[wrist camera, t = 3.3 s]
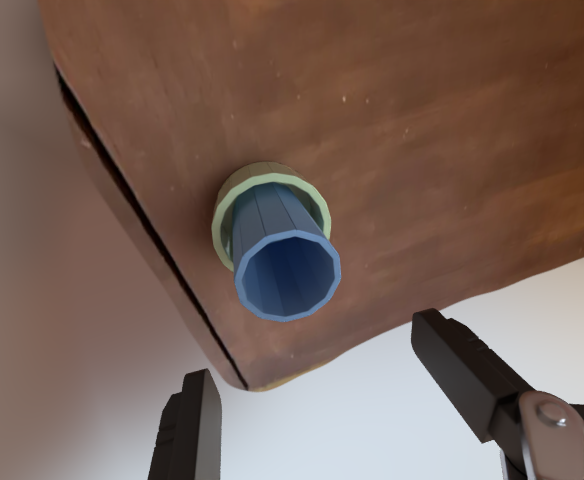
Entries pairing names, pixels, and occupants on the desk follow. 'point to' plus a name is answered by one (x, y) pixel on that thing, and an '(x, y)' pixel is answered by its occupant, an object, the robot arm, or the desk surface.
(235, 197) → the green cup
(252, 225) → the blue cup
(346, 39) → the desk surface
